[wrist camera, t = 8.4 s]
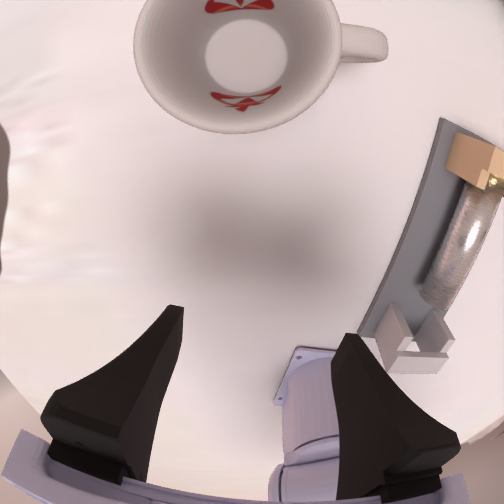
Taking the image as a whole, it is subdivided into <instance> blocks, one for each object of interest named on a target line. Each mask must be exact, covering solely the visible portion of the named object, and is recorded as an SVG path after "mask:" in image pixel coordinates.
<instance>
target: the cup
mask: <svg viewBox="0 0 504 504" xmlns="http://www.w3.org/2000/svg"><path fill="white" fill-rule="evenodd" d="M133 49H134V59H135V64H136V68H137V71H138V74H139V76H140V79H141V81H142V83H143V85H144V87H145V88H146V90H147V91H148V93H149V94H150V95H151V97H152V98H153V99H154V101H155V102H156V103H157V104H158V105H159V106H160V107H161V108H163V109H164V110H165V111H166V112H167V113H169V114H170V115H172V116H173V117H175V118H176V119H178V120H180V121H182V122H184V123H186V124H188V125H190V126H193V127H196V128H199V129H202V130H206V131H210V132H216V133H224V134H245V133H253V132H258V131H263V130H267V129H270V128H273V127H276V126H279V125H281V124H284V123H286V122H288V121H290V120H291V119H293V118H295V117H297V116H298V115H300V114H301V113H303V112H304V111H305V110H307V109H308V108H309V107H310V106H311V105H312V104H314V103H315V102H316V101H317V99H318V98H319V97H320V96H321V95H322V94H323V93H324V91H325V90H326V89H327V87H328V86H329V84H330V82H331V81H332V79H333V77H334V75H335V72H336V70H337V67H338V64H339V62H345V63H371V62H381V61H383V60H385V59H386V58H387V56H388V43H387V38H386V36H385V35H384V34H383V33H382V32H380V31H379V30H376V29H373V28H369V27H364V26H357V25H350V24H343V23H340V19H339V16H338V13H337V10H336V8H335V6H334V4H333V2H332V0H147V1H146V2H145V4H144V6H143V8H142V10H141V12H140V15H139V18H138V20H137V23H136V28H135V33H134V44H133Z"/></svg>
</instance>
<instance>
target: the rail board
mask: <svg viewBox="0 0 504 504" xmlns="http://www.w3.org/2000/svg"><path fill="white" fill-rule="evenodd" d="M490 173H492V174H494V175H496V176H498V177H500V178H502V179H503V180H504V151H503V150H501V149H500V148H498V147H496V146H495V145H493V144H491V143H490V142H488V141H486V140H484V139H483V138H481V137H479V136H477V135H475V134H473V133H472V132H470V131H468V130H466V129H464V128H462V127H460V126H458V125H456V124H454V123H452V122H450V121H448V120H446V119H443V118H440V120H439V124H438V128H437V132H436V136H435V139H434V143H433V146H432V150H431V153H430V156H429V160H428V163H427V166H426V169H425V172H424V176H423V179H422V182H421V185H420V188H419V190H418V193H417V196H416V199H415V202H414V205H413V207H412V210H411V213H410V216H409V218H408V221H407V223H406V226H405V229H404V231H403V234H402V236H401V239H400V241H399V244H398V246H397V248H396V251H395V253H394V255H393V258H392V260H391V262H390V265H389V267H388V269H387V272H386V274H385V276H384V278H383V280H382V283H381V285H380V287H379V289H378V291H377V293H376V295H375V298H374V300H373V302H372V304H371V306H370V308H369V310H368V312H367V314H366V316H365V318H364V320H363V322H362V324H361V326H360V328H359V329H358V331H357V333H358V335H359V336H360V337H369V338H375V339H376V342H377V345H378V348H379V351H380V354H381V357H382V360H383V363H384V366H385V369H386V372H387V373H401V374H437V372H438V371H439V370H440V369H441V367H442V366H443V365H444V363H445V362H446V361H447V360H448V358H449V357H448V355H447V353H446V352H447V351H448V350H449V348H450V347H451V345H452V344H453V343H454V341H455V339H454V337H453V335H452V333H451V331H450V330H449V328H448V326H447V325H446V323H445V321H444V319H443V318H444V316H445V315H446V313H447V311H448V310H449V308H450V307H449V308H448V309H447V310H439V309H436V308H434V307H432V306H430V305H429V304H427V303H426V302H425V301H424V300H423V299H422V298H421V296H420V294H419V289H420V287H421V285H422V283H423V281H424V279H425V277H426V275H427V273H428V271H429V269H430V267H431V265H432V262H433V260H434V258H435V256H436V254H437V252H438V249H439V247H440V245H441V243H442V240H443V238H444V236H445V233H446V231H447V229H448V226H449V224H450V221H451V219H452V216H453V214H454V211H455V209H456V206H457V203H458V201H459V198H460V195H461V192H462V190H463V187H464V184H465V181H468V182H470V183H471V184H473V185H474V186H476V187H478V188H480V189H483V190H485V187H486V184H487V181H488V178H489V175H490ZM502 196H503V197H504V191H503V194H502ZM501 198H502V197H501ZM500 201H501V200H500ZM499 204H500V202H499ZM498 206H499V205H498ZM497 209H498V208H497ZM496 211H497V210H496ZM495 214H496V213H495ZM494 216H495V215H494ZM493 219H494V218H493ZM492 221H493V220H492ZM491 224H492V223H491ZM490 226H491V225H490ZM489 229H490V227H489ZM488 231H489V230H488ZM487 233H488V232H487ZM486 236H487V234H486ZM485 238H486V237H485ZM484 240H485V239H484ZM483 242H484V241H483ZM482 245H483V243H482ZM481 247H482V246H481ZM480 249H481V248H480ZM479 251H480V250H479ZM478 253H479V252H478ZM477 255H478V254H477ZM476 257H477V256H476ZM475 259H476V258H475ZM474 261H475V260H474ZM473 263H474V262H473ZM472 265H473V264H472ZM471 267H472V266H471ZM470 269H471V268H470ZM469 271H470V270H469ZM468 273H469V272H468ZM467 275H468V274H467ZM466 277H467V276H466ZM465 279H466V278H465ZM464 281H465V280H464ZM463 283H464V282H463ZM462 285H463V284H462ZM461 287H462V286H461ZM459 290H460V289H459ZM458 292H459V291H458ZM457 294H458V293H457ZM456 296H457V295H456ZM454 299H455V298H454ZM453 301H454V300H453ZM452 303H453V302H452ZM450 306H451V305H450ZM411 341H416V343H417V345H418V347H419V349H420V352H412V351H405V350H406V348H407V347H408V345H409V344H410V342H411Z"/></svg>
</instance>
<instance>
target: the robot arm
mask: <svg viewBox="0 0 504 504" xmlns="http://www.w3.org/2000/svg"><path fill="white" fill-rule="evenodd" d="M183 314H184V307H180V306H176V305H171V304H170V305H168V306H167V307H166V309H165V310H164V311H163V312H162V314H161V315H160V316H159V317H158V318H157V320H156V321H155V322H154V323H153V324H152V325H151V326H150V327H149V328H148V329H147V330H146V331H145V332H144V333H143V334H142V335H141V336H140V337H139V338H138V339H137V340H136V341H135V342H134V343H133V344H132V345H131V346H130V347H129V348H127V349H126V350H125V351H124V352H123V353H121V354H120V355H119V356H117V357H116V358H115V359H113V360H112V361H111V362H109V363H108V364H106V365H105V366H103V367H102V368H100V369H99V370H97V371H95V372H94V373H92V374H90V375H88V376H86V377H84V378H83V379H81V380H79V381H77V382H75V383H72V384H70V385H68V386H65V387H63V388H61V389H58V390H56V391H55V392H54V393H53V395H52V396H51V397H50V399H49V401H48V402H47V404H46V406H45V408H44V410H43V412H42V414H41V422H42V424H43V425H44V427H45V428H46V429H47V431H48V432H49V433H50V435H51V436H52V438H53V440H52V442H51V445H50V444H49V443H48V442H46V441H45V440H43V439H41V438H39V437H37V436H35V435H33V434H31V433H29V432H27V431H25V430H23V429H22V430H21V431H20V433H19V435H18V437H17V439H16V441H15V443H14V446H13V448H12V450H11V452H10V455H9V457H8V459H7V462H6V464H5V466H4V469H3V471H2V474H1V476H2V477H3V478H4V479H5V480H7V481H8V482H9V483H11V484H12V485H14V486H15V487H17V488H18V489H20V490H21V491H23V492H24V493H25V494H27V495H29V496H31V497H32V498H34V499H36V500H38V501H40V502H42V503H44V504H471V503H470V499H469V495H468V491H467V487H466V483H465V480H464V476H463V473H458V474H454V475H451V476H447V477H445V478H442V479H440V477H439V474H441V473H442V468H441V466H442V465H444V464H445V463H447V462H448V461H449V460H450V459H452V458H453V457H454V456H455V455H457V454H458V452H459V451H460V449H461V446H460V443H459V440H458V437H457V434H456V432H454V431H453V430H451V429H449V428H447V427H446V426H444V425H442V424H441V423H439V422H438V421H436V420H435V419H434V418H432V417H431V416H429V415H428V414H427V413H426V412H424V411H423V410H422V409H421V408H420V407H418V406H417V405H416V404H415V403H414V402H413V401H412V400H411V399H410V398H409V397H408V396H407V395H406V394H405V393H404V392H403V391H402V390H401V389H400V388H399V387H398V386H397V385H396V384H395V382H394V381H393V380H392V379H391V378H390V376H389V375H388V374H387V373H386V371H385V370H384V369H383V367H382V366H381V365H380V363H379V362H378V361H377V359H376V358H375V357H374V355H373V354H372V353H371V351H370V350H369V348H368V347H367V346H366V344H365V343H364V341H363V340H362V339H361V337H360V336H359V335H358V334H352V333H346V334H345V336H344V338H343V340H342V342H341V344H340V345H339V347H338V349H337V351H327V350H317V349H309V348H298V349H296V350H295V352H294V355H293V357H292V359H291V362H290V364H289V367H288V369H287V371H286V374H285V376H284V378H283V380H282V383H281V385H280V387H279V389H278V392H277V394H276V396H275V398H274V401H273V403H274V405H278V406H282V425H283V451H284V464H279V465H277V467H276V468H275V470H274V471H273V473H272V474H271V476H270V479H269V484H268V501H255V500H242V499H232V498H223V497H215V496H208V495H202V494H196V493H190V492H185V491H180V490H175V489H170V488H165V487H161V486H157V485H153V484H149V483H146V480H147V473H148V467H149V461H150V455H151V450H152V444H153V439H154V435H155V430H156V425H157V421H158V416H159V412H160V408H161V404H162V401H163V398H164V395H165V393H166V390H167V387H168V384H169V382H170V379H171V376H172V373H173V371H174V368H175V365H176V362H177V359H178V355H179V351H180V347H181V342H182V332H183Z"/></svg>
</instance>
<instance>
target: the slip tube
mask: <svg viewBox="0 0 504 504" xmlns="http://www.w3.org/2000/svg"><path fill="white" fill-rule="evenodd" d="M503 191H504V180H503V179H502V178H500V177H498V176H496V175H494V174H492V173H490V175H489V178H488V181H487V184H486V187H485V190H483V189H480V188H478V187H476V186H474V185H473V184H471V183H470V182H468V181H465V184H464V187H463V190H462V192H461V195H460V198H459V201H458V203H457V206H456V209H455V211H454V214H453V216H452V219H451V221H450V224H449V226H448V229H447V231H446V233H445V236H444V238H443V240H442V243H441V245H440V247H439V249H438V252H437V254H436V256H435V258H434V260H433V262H432V265H431V267H430V269H429V271H428V273H427V275H426V277H425V279H424V281H423V283H422V285H421V287H420V289H419V294H420V296H421V298H422V299H423V300H424V301H425V302H426V303H427V304H429V305H430V306H432V307H434V308H436V309H439V310H447V309H448V308H449V307H450V305H451V304H452V302H453V300H454V298H455V297H456V295H457V293H458V291H459V289H460V288H461V286H462V284H463V282H464V280H465V278H466V276H467V274H468V272H469V270H470V268H471V266H472V264H473V262H474V260H475V258H476V256H477V254H478V252H479V250H480V248H481V246H482V243H483V241H484V239H485V237H486V234H487V232H488V230H489V227H490V225H491V223H492V220H493V218H494V215H495V213H496V210H497V208H498V205H499V202H500V200H501V197H502V194H503Z"/></svg>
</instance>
